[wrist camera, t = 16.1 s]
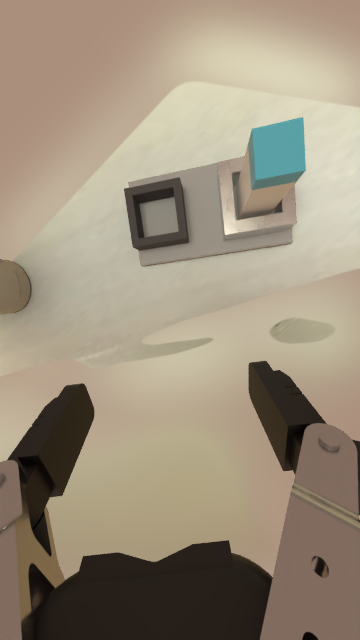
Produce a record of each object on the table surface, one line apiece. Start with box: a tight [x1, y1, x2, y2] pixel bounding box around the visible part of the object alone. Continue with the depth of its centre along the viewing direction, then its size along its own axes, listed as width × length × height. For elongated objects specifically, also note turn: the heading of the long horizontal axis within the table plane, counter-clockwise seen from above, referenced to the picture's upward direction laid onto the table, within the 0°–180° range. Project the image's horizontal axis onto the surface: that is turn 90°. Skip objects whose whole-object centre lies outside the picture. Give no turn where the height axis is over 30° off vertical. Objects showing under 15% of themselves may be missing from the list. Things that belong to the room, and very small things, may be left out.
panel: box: [128, 163, 293, 266], centre depth 31 cm, size 22×12×1 cm, turn 97°
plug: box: [235, 117, 306, 220], centre depth 24 cm, size 4×4×12 cm
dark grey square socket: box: [124, 177, 189, 251], centre depth 30 cm, size 8×8×3 cm
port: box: [217, 156, 297, 241], centre depth 28 cm, size 9×9×4 cm
